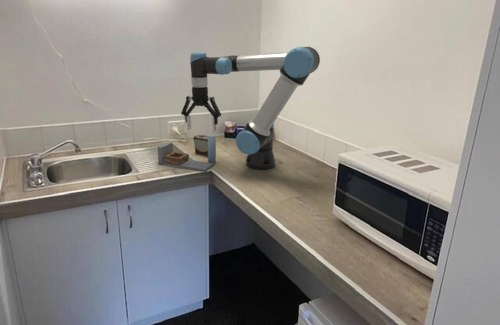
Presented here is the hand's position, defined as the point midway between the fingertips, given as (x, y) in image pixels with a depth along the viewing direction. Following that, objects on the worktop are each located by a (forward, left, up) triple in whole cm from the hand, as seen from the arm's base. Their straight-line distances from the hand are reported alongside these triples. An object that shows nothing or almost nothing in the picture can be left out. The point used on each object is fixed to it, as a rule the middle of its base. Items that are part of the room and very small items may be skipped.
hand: (201, 130), depth 186 cm
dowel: (-5, +3, -18) cm, 19 cm away
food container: (-16, -6, -18) cm, 25 cm away
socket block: (+4, -12, -17) cm, 21 cm away
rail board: (+4, -7, -18) cm, 20 cm away
